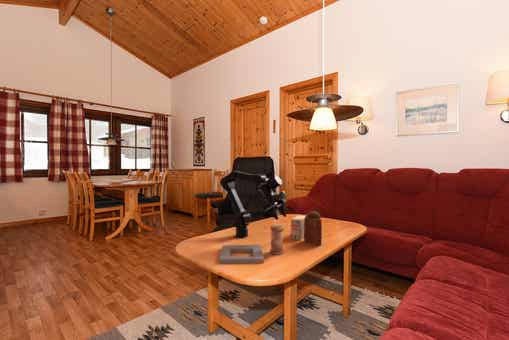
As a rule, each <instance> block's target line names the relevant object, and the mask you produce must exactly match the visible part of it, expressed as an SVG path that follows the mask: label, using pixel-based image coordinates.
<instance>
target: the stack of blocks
mask: <svg viewBox="0 0 509 340" xmlns="http://www.w3.org/2000/svg"><path fill="white" fill-rule="evenodd" d="M305 216H306V215H300V214H299V215H296V216H294V217H292V218H291V219H290V239H291V240H295V241H302V240H304V228H305V227H304V221H305Z"/></svg>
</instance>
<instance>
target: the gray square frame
mask: <svg viewBox="0 0 509 340" xmlns="http://www.w3.org/2000/svg"><path fill="white" fill-rule="evenodd" d="M262 248H263V247H262V245H261V244H222V246H221V251H220V255H219V260H218V261H219V264H264V263H265V257H264V253H263V250H262ZM233 253H236V254H237V253H252V256H231V254H233Z"/></svg>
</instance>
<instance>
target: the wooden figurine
mask: <svg viewBox="0 0 509 340" xmlns="http://www.w3.org/2000/svg"><path fill="white" fill-rule="evenodd" d="M304 216H305V221H304V227H305V228H304V238H303V241H304V242H305V243H308V244H312V245H314V246H322V243H323V242H322V240H323V239H322V238H323V237H322V234H323V233H322V232H323V230H322V229H323V225H322V215H321V214H320V213H319V212H317V211H313V210H312V211H309V212H308V213H307V214H306V215H304Z"/></svg>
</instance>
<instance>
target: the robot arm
mask: <svg viewBox="0 0 509 340" xmlns="http://www.w3.org/2000/svg"><path fill="white" fill-rule="evenodd" d="M237 179H240V180H245V181H249V182H250V183H253V184H255V185H257V189H256V191H257V192H261V194H262V195H263V201H266V203H265V204H263V205H262V206H261V210H262V212H265V213H266V214H267V215H269V216H271V217H272V218H273V219H275V220H276V221H278V220H279V217H278V214H277V212H276V210H277V211H278V212H279V213H280V214H281V215H282V216H283V217H284V218H286V217H287V213H286V208H285V207H286V204H287V200H286V198H287V197H286V196H287V193H286V192H285V191H284V190H283V191H279V193H276V192H274V191H273V190H276V189H277V188H279V187H280V186H282V185H283V181H282V179H281V178H280V177H279V176H278V175H277V174H273V175H272V176H271V177H267V176H266V174H252V173H249V172H247V173H246V172H242V171H239V170H232V171H231V172H230V173H228V174H227V175H225V176H223V177H222V178H221V179H220V181H219V183H220V186H221V187H222V189H223V190H225V191H226V192H227V195H228V198H229V199H230V200H231V203H232V205H233V208H234V210H235V212H236V215H235V216H236V220H235V221H234V223H233V227H234V228H235V235H234V238H235V237H236V238H240V239H241V238H242V239H245V238H247V237H248V236H249V233H248V232H249V229H248V226H249V225H250V223H251V222H252V221H251V220H252V215H251V214H250V211H249V210H248V209H247V210H245V208H244V207H243V203H242V202H241V200H240V197H239V196H238V193H237V191H236V189H235V185H236V184H235V182H236V181H237Z"/></svg>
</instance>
